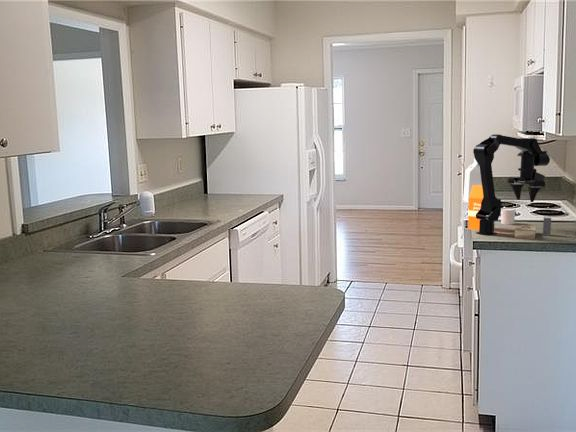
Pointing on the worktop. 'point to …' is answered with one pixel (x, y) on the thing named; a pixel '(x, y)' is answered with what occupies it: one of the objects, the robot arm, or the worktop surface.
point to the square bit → (547, 227)
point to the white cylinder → (507, 216)
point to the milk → (471, 179)
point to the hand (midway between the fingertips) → (525, 200)
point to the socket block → (525, 232)
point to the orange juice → (474, 206)
